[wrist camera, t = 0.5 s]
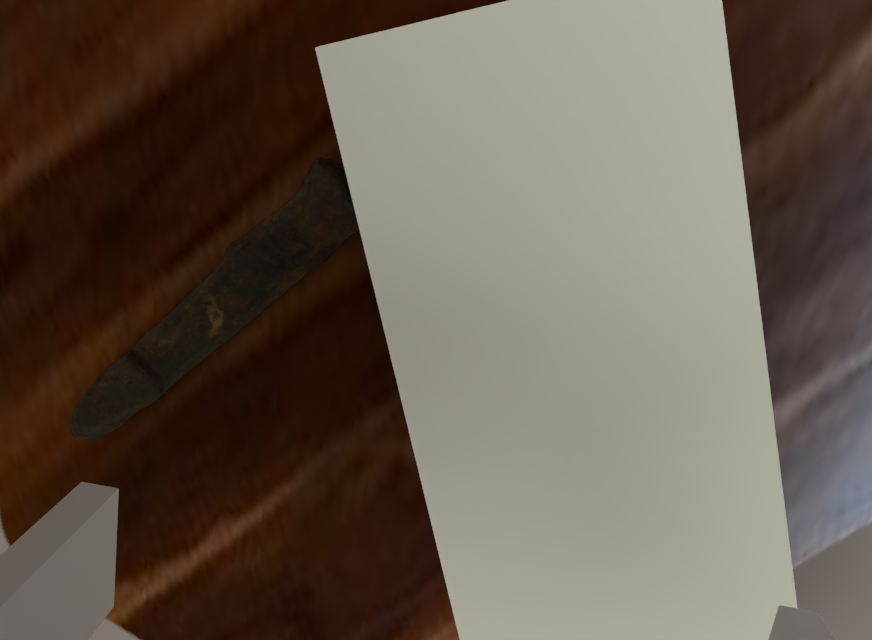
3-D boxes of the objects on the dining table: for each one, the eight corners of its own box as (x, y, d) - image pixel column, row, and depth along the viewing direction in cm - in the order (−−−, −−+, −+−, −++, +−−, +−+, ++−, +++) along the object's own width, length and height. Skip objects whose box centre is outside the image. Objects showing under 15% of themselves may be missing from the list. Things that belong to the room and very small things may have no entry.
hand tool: (338, 147, 38) (315, 154, 34) (391, 214, 39) (376, 230, 35) (65, 373, 43) (13, 406, 38) (117, 430, 43) (72, 469, 39)
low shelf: (377, 62, 37) (314, 47, 25) (644, -2, 35) (715, -50, 23) (484, 530, 43) (474, 700, 31) (717, 494, 41) (803, 659, 29)
